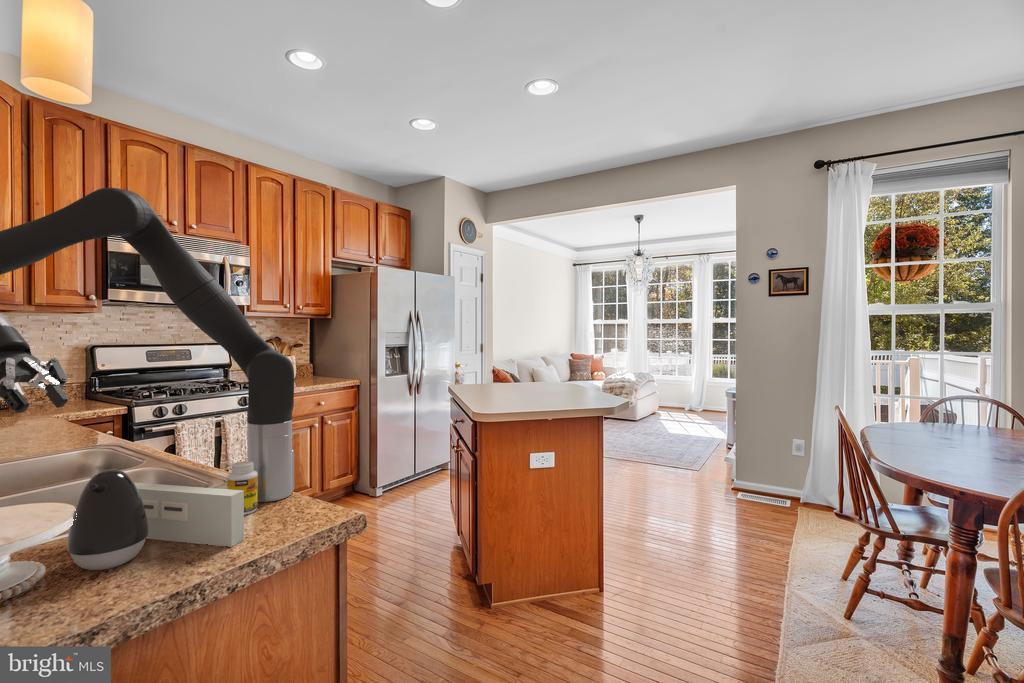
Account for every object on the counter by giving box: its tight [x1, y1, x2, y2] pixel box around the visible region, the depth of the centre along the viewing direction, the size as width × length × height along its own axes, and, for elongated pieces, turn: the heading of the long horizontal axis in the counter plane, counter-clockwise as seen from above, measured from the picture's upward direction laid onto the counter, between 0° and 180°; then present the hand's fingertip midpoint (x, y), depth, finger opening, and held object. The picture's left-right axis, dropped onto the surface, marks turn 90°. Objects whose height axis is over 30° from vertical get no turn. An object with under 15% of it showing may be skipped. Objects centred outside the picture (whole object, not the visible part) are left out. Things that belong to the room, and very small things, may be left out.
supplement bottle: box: [226, 460, 258, 516], centre depth 102 cm, size 6×6×10 cm
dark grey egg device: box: [66, 468, 148, 571], centre depth 79 cm, size 10×10×15 cm
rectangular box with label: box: [133, 481, 245, 548], centre depth 89 cm, size 3×26×9 cm, turn 80°
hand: (44, 406), depth 86 cm, fingers open, 5 cm apart
